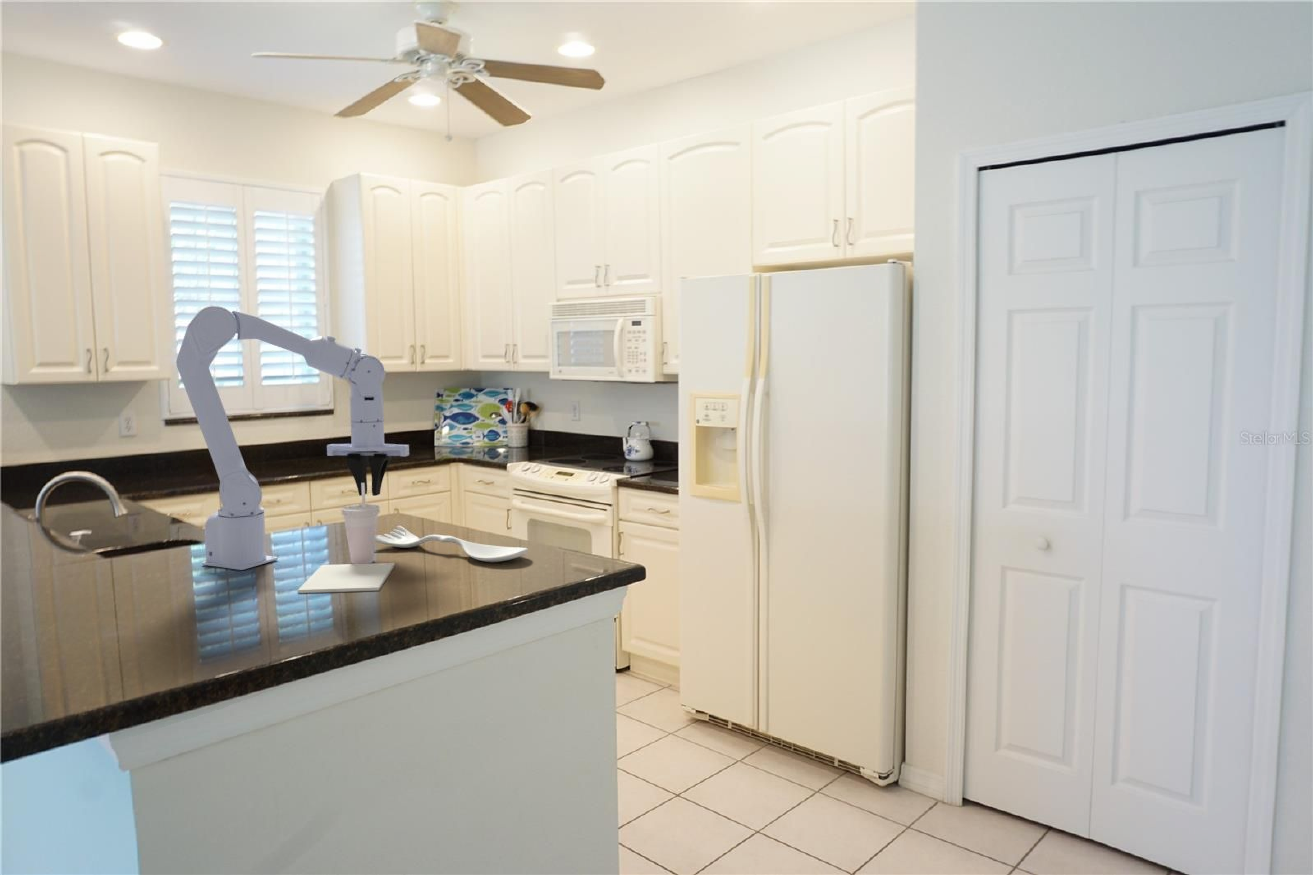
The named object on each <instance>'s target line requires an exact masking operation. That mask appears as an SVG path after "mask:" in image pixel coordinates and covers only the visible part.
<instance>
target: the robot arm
mask: <svg viewBox="0 0 1313 875" xmlns="http://www.w3.org/2000/svg"><path fill="white" fill-rule="evenodd" d="M236 334H237V338H236V339H237V340H238V341H239V340H240V341H241V340H242V341H243V340H259V341H261V342H265V343H267V344H268V345H269V344H270V345H273V346H276V347H277V348H281V349H284V350H287V351H289V352H292V353H295V354H298V355H300V356H303V358H304V360H305V362H306V365H307V366H308V367H310V368H312V369H316V370H318V371H321V372H323V373H325V374H328V375H331V376H333V377H336V378H338V379H341V380H345V379H347V380H348V381H349V382H350V396H349V408H350V409H349V411H350V436H351V437H350V438H351V439H350V440H351V443H331V444H327V445H326V451H327V452H326V455H327V457H328V456H331V457H333V456H346V458H345V459H344V461H345V465H346V466H347V468H348V469H349V471H350V472H351V475H352V476H353V479H354V481H355V485H356V488H357V491H358V495H359V496H361V497H362V489H361V483H365V495H367V494H368V481H367V477H368V476H367V475H368V474H367V471H368V464H369V468H370V475H371V476H370V477H371V493H372V494H371V495H372V496H374V497H375V496H379V495H381V491H382V490H381V489H382V484H383V480H384V476H385V474H386V471H387V469H388V466H389V465H390V462H391V460H392V457H408V456H410V444H395V443H385V424H384V423H385V422H384V421H385V419H384V416H385V415H384V414H385V413H384V396H383V384H382V383H383V382H384V381H385V378H386V375H387V371H386V370H385V368H384V364H383V363H382V362H381V360H380V359H378V358H377V357H375V356H373V355H368V354H366V353H362V349H360V348H358V347H355V348H351V347H350V346H347V345H344V344H341V343H338V342H337V341H336V337H334V336H331V335H327V336H326V337H324V336H321V335H319V336H316V337H313V338H311V339H309V338H307V337H304V336H302V335H299V334H298V333H295V332H293V331H291V330H288V329H286V328H283V327H281V326H279V325H276V324H274V323H271V322H269V321H267V320H265V319H262V318H260V317H258V316H255V315H252V314H249V313H248V314H246V313H244V312H240V311H236V310H232V311H230V310H228V309H226V307H222V306H219V305H210V306H206V307H204V308H202V309H200V310H199V311H198V313H196V315H195V316H194V317H193V318H192V319H191V321H190V322H189V323H188V325H187V328H186V330H185V333H184V336H183V340H182V343H181V345H180V349H179V351H178V354H177V356H176V357H177V358H176V362H175V363H176V369H177V371H178V373H179V376H180V378H181V381H182V384H183V386H184V388H185V392H186V394H187V396H188V399H189V402H190V404H191V408H192V409H193V412H194V414H195V418H196V420H197V423H198V425H199V428H200V430H201V433H202V436H203V439H204V442H205V443H206V446H207V449H208V451H209V454H210V458H211V460H212V463H213V465H214V468H215V471H216V474H217V476H218V479H219V488H218V489H219V495H220V496H219V497H220V498H219V499H220V503H221V505H222V506H221V507H220V508H219V509H217V511H216V512H214V513H212V514H211V515H210V516H208V518H207V519H206V522H205V524H204V546H205V548H204V549H205V561H202V562H201V564H202V565H203V566H209V567H210V566H211V567H215V568H216V567H218V568H225V569H230V570H238V571H239V570H240V571H243V570H247V569H250V568H251V569H252V568H254V567H257V566H261V565H263V564H267V563H268V564H269V563H271V562H274V561H278V559H279V557H278V556H273V555H267V547H266V546H267V545H266V524H265V523H266V521H265V520H266V519H265V508H264V507H262V506H261V505H260V504H261V502H262V500H263V499H262V498H263V492H262V489H261V487H260V486H259V482H258V480H257V477H255V475H253V474H252V473H251V472H250V471H249V470H248V468H247V467H246V464H245V461H244V458H243V456H242V452H241V451H240V448H239V445H238V443H237V440H236V437H235V434H234V431H233V429H232V426H231V424H230V421H229V418H228V416H227V413H226V411H225V407H224V404H223V402H222V399H221V398H220V394H219V392H218V389H217V386H216V384H215V382H214V379H213V376H212V373H211V371H210V366H211V365H212V363H213V361H214V360H215V358H216V356H217V354H218V353H219V351H220V350H221V349H222V348H223V347H225V346H226V345H227V344H228V343H229V342H230V341H232V340H233V339H234V338H235V336H236ZM369 456H373V457H369Z"/></svg>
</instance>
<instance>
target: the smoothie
mask: <svg viewBox="0 0 1313 875" xmlns="http://www.w3.org/2000/svg"><path fill="white" fill-rule="evenodd" d="M361 489H362V496H361V503H360V504H351V505H347V506H343V507H341V513H340V514H341V516H343V520H344V527H345V532H346V539H347V545H348V551H349V556H350V557H349V558H350V564H373V562H374V558H375V551H376V550H375V549H376V542H375V540H376V536H377V528H378V520H379V519H378V518H379V517H378V515H379V514H380V513H381V511H380V506H379V505H377V504H370V503H366V494H365V483H361Z"/></svg>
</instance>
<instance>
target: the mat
mask: <svg viewBox="0 0 1313 875" xmlns="http://www.w3.org/2000/svg"><path fill="white" fill-rule="evenodd" d="M394 567H395V562H379V563H378V562H376V563H373V562H372V563H368V564H352V563H349V564H343V563H342V564H321V565H320V566H319V567H318V568H317V569H316V570H315V571H314V573H313V574H312V575H310V576H309V577H308V579H306V581H305V582H304V583H303V584H302V585H301V586H300V587H298V589H297V593H298V594H311V593H313V594H317V593H343V592H348V593H349V592H368V591H369V592H370V591H372V592H373V591H376V592H377V591H379V590H381V588H382V586H383V585H384V583H385V582H386V581H387V579H388V576H390V573H391V572H392V570H393V569H394Z"/></svg>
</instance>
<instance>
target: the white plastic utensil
mask: <svg viewBox="0 0 1313 875" xmlns="http://www.w3.org/2000/svg"><path fill="white" fill-rule="evenodd" d="M431 541H435V542H436V541H437V542H440V543H452V544H456V545H458V546H460V547H461V548H462V550H463V552H464V553H465V554H466V555H468V556H469V557H471V558H472V559H475V560H478V561H482V562H487V563H499V562H505V561H510V560H513V559H514V560H515V559H516V558H520V557H523V556H524V555H525V554H527V553H528V551H529V550H528V548H527V547H519V546H517V547H513V546H502V545H501V546H500V545H492V544H491V545H490V544H482V543H476V542H471V541H468V540H464V539H461V538H458V537H455V536H452V535H444V534H443V535H441V534H430V535H426V536H424V537H422V538H419V537H418V535H417V536H416V535H415V534H413V533H411V531H409V530H407V529H406V528H405V527H403V526H401V525H397V526H396V529H393V531H389V534H388V533H387V534H386V533H383V535H380V534H378V535H376V540H375V543H379V544H383V545H387V546H392V547H396V548H401V549H406V548H407V549H410V548H414V547H417V546H420V545H422V544H423V543H424V544H425V543H426V542H431Z"/></svg>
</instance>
